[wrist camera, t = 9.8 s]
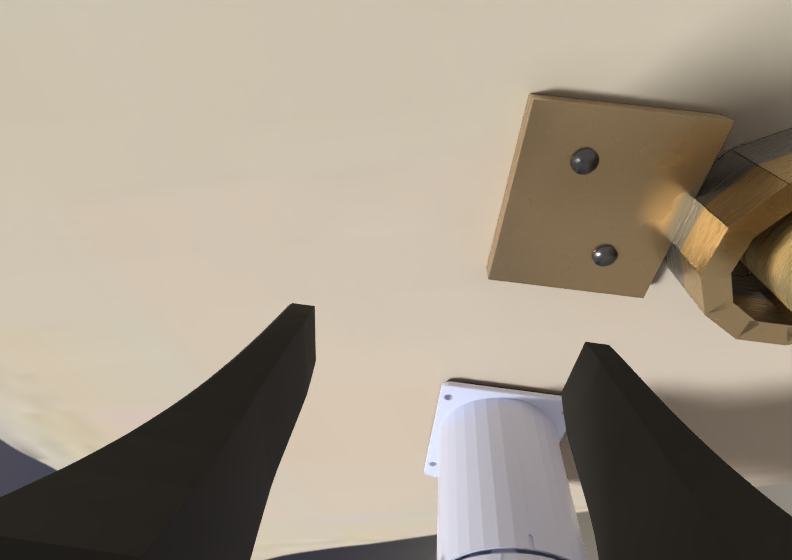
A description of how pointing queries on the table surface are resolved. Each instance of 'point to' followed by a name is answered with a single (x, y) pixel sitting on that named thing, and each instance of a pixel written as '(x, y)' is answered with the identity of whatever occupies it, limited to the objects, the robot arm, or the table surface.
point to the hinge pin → (773, 259)
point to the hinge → (643, 207)
